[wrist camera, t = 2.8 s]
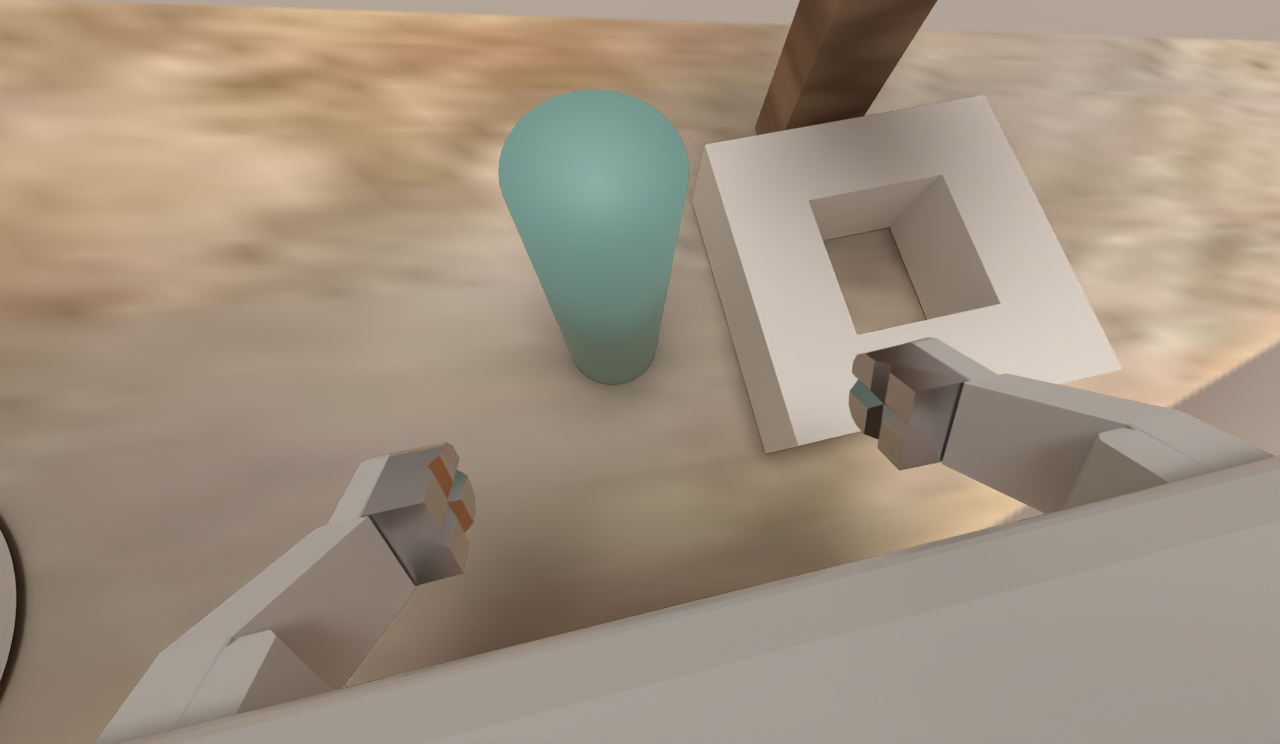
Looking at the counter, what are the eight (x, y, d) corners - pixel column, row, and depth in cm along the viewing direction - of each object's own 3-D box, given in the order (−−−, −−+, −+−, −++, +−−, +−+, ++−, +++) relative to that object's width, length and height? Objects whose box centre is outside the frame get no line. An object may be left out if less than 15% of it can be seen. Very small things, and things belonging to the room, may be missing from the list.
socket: (765, 453, 20) (798, 445, 16) (691, 202, 23) (704, 144, 19) (1031, 391, 21) (1122, 369, 17) (927, 157, 24) (984, 94, 20)
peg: (579, 392, 21) (515, 269, 9) (563, 312, 21) (485, 105, 10) (664, 374, 21) (710, 232, 9) (645, 295, 22) (664, 76, 10)
